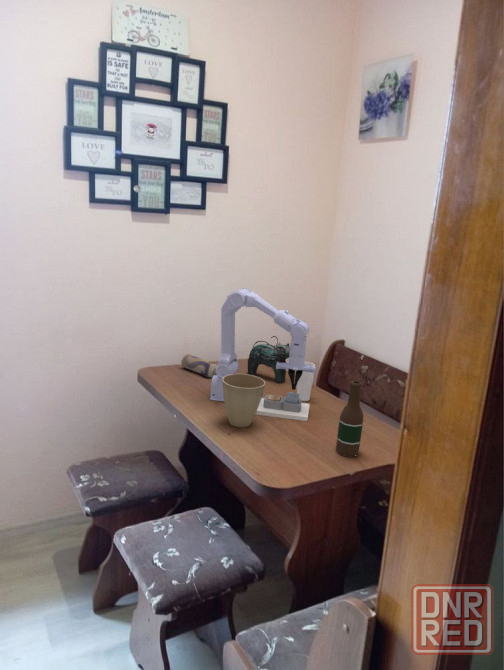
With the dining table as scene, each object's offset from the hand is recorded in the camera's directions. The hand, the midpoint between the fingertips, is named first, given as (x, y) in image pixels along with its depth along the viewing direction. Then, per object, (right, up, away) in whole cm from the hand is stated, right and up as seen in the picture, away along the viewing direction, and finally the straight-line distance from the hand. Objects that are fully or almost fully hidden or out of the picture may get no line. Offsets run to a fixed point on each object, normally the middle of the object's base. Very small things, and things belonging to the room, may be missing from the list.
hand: (293, 388), depth 202 cm
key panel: (-4, -9, +3) cm, 10 cm away
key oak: (-7, -6, +3) cm, 10 cm away
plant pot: (-20, -11, -12) cm, 26 cm away
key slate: (0, -5, +1) cm, 5 cm away
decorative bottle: (-37, +2, +37) cm, 52 cm away
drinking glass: (+5, -6, +16) cm, 18 cm away
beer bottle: (+15, -18, -27) cm, 36 cm away
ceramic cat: (-9, 0, +38) cm, 39 cm away
